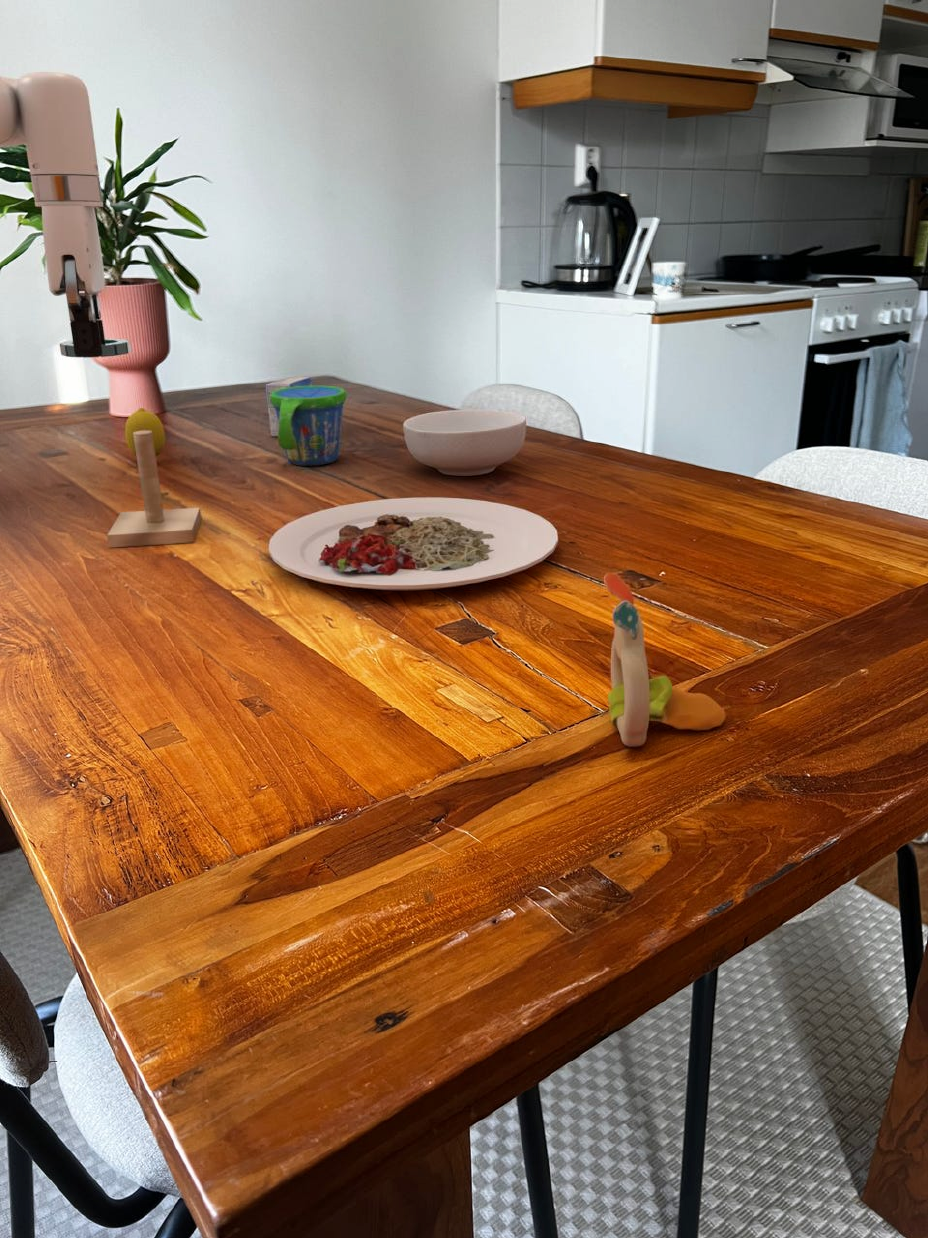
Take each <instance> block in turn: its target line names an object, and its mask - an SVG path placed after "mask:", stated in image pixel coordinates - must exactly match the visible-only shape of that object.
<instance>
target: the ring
mask: <svg viewBox="0 0 928 1238" xmlns="http://www.w3.org/2000/svg"><path fill="white" fill-rule="evenodd" d="M130 343H131V342H130V340H129V339H124V338H105V344H101V345H102V352H103V353H102V355H100V356H76V355H75V352H74V345H73V339H72V340H67V341H62V342H60V343H59V350H60V355H61V356H63V357H67V358H82V359H83V358H105V357H116V356H123V355H128V354H130V353H131V351H132V350H131V345H130Z"/></svg>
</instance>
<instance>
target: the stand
mask: <svg viewBox="0 0 928 1238" xmlns="http://www.w3.org/2000/svg"><path fill="white" fill-rule="evenodd" d="M133 436H134V443H135V449H136V455H135V457H136V462H137V469H138V475H139V482H140V489H141V495H142V504H143V510H136V511H121V512H120V514H119V515H118V517H117V518H116V520H115V521H114V523H113V525H112V526H111V527H110V529H109V531H108V532H107V534H106V537H107V543H108V548H111V549H112V548H128V547H129V548H130V547H142V546H144V547H145V546H159V545H175V544H189V543H190V544H191V543H195V541H196V537H197V533H198V531H199V528H200V525H201V522H202V512H201V508H200V507H187V508H171V509H169V508H168V509H164V505H163V499H162V498H163V497H162V492H161V484H160V477H159V469H158V463H157V456H156V455H155V448H154V441H153V434H152V431H137V432H134V433H133Z"/></svg>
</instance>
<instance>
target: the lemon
mask: <svg viewBox="0 0 928 1238" xmlns="http://www.w3.org/2000/svg"><path fill="white" fill-rule="evenodd" d="M137 431H152V434H153V441H154V448H155V455H156V457H158V456H160V454H161V453H163V450H164V449H165V445H166V432H165V429H164V425H163V423H162V421H161V419H160V418H159V417H158V416H157V415H156V414H155V413H154V412H152V411H150V410H146V409H145V408H144V407H140V408H138V409H137V410H136V411H135V412H133V413H131V414H130V415H129V417H128V418H127V419H126V423H125V429H124V437H125V442H126V445H127V447H128V449H129V451H130V452H131V453H132V454H133V455H134V456H136V449H135V443H134V436H133V433H134V432H137Z"/></svg>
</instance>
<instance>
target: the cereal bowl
mask: <svg viewBox="0 0 928 1238" xmlns="http://www.w3.org/2000/svg"><path fill="white" fill-rule="evenodd" d="M402 429H403V434H404V435H403V437H404V442H405V446H406V448H407V450H408V452H409V453H410V455H411V456H412V457H413V458H414V459H415V460H416V461H418V462H419V463H420V464H423V465H426V467H431V468H433V469H436V470H437V471H438V472H439V473H441V474H443V475H448V476H454V477H455V476H456V477H467V476H468V477H471V476H480V475H485V474H488V473H491V472H494V470H496V467H498V466H500V465H502V464H504V463H506V462H508V461H510V460H512V459H513V458H514V457H515V456H517V455H518V453H519V452H520V451H521V449H522V448H523V446H524V443H525V439H526V433H527V419H526V417H525V416H523V414H520V413H517V412H512V411H506V410H496V409H453V410H451V409H450V410H442V411H441V410H440V411H433V412H427V413H422V414H419V415H416V416H415V415H414V416H412V417H409V418H408V419H406V420H405V421H404V422H403V424H402Z"/></svg>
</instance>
